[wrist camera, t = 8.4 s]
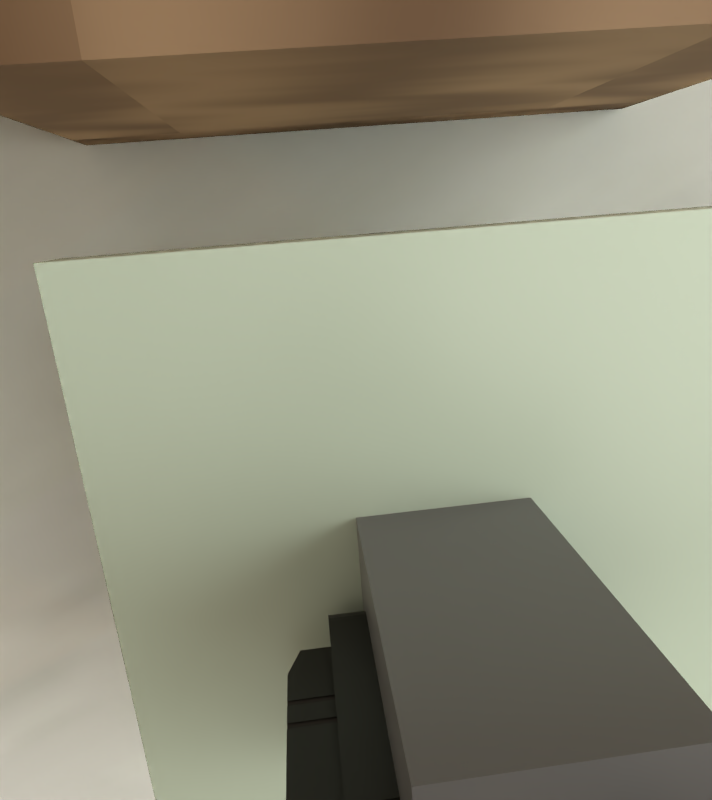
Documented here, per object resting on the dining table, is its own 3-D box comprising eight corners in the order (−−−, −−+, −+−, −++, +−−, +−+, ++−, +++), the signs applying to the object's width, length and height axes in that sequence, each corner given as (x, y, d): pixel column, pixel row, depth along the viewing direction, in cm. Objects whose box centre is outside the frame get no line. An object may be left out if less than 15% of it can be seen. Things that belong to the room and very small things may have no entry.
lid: (752, 202, 10) (1336, 185, 4) (682, 821, 14) (940, 1221, 9) (59, 259, 9) (-305, 322, 4) (196, 897, 14) (126, 1396, 8)
